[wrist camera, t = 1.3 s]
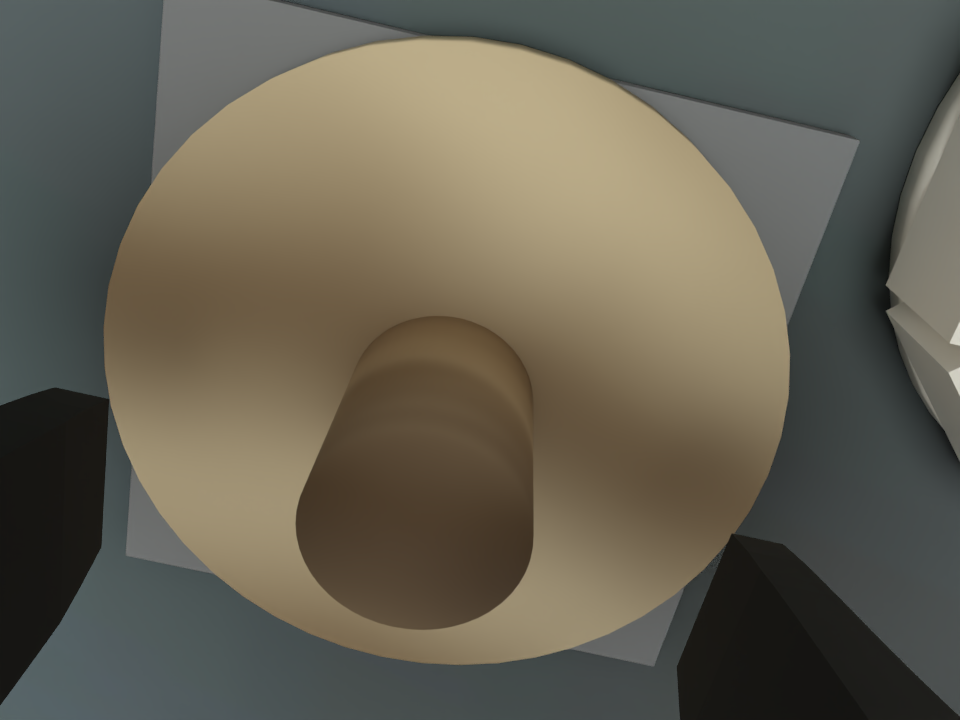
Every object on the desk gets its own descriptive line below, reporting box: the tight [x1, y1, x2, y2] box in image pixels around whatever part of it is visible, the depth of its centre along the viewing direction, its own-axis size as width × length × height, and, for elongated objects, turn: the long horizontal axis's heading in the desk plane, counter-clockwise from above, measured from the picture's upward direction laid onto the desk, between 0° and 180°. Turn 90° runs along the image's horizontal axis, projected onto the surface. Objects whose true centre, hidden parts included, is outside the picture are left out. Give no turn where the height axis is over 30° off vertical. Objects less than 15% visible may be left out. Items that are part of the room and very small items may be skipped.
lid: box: [104, 35, 790, 665], centre depth 13 cm, size 10×10×4 cm
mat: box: [126, 0, 860, 666], centre depth 15 cm, size 10×10×1 cm
